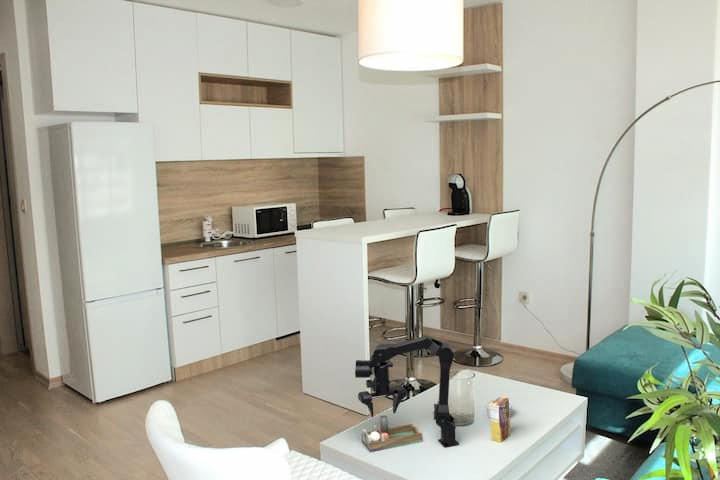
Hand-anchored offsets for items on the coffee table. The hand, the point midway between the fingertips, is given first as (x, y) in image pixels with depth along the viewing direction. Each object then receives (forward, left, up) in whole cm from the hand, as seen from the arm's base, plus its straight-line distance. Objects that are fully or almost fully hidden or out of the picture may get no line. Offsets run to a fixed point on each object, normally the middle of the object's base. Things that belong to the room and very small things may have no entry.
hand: (383, 415), depth 240 cm
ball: (0, +4, -9) cm, 9 cm away
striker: (0, 0, -10) cm, 10 cm away
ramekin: (+4, -54, -12) cm, 56 cm away
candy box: (-14, -44, -12) cm, 48 cm away
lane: (0, -3, -12) cm, 12 cm away
